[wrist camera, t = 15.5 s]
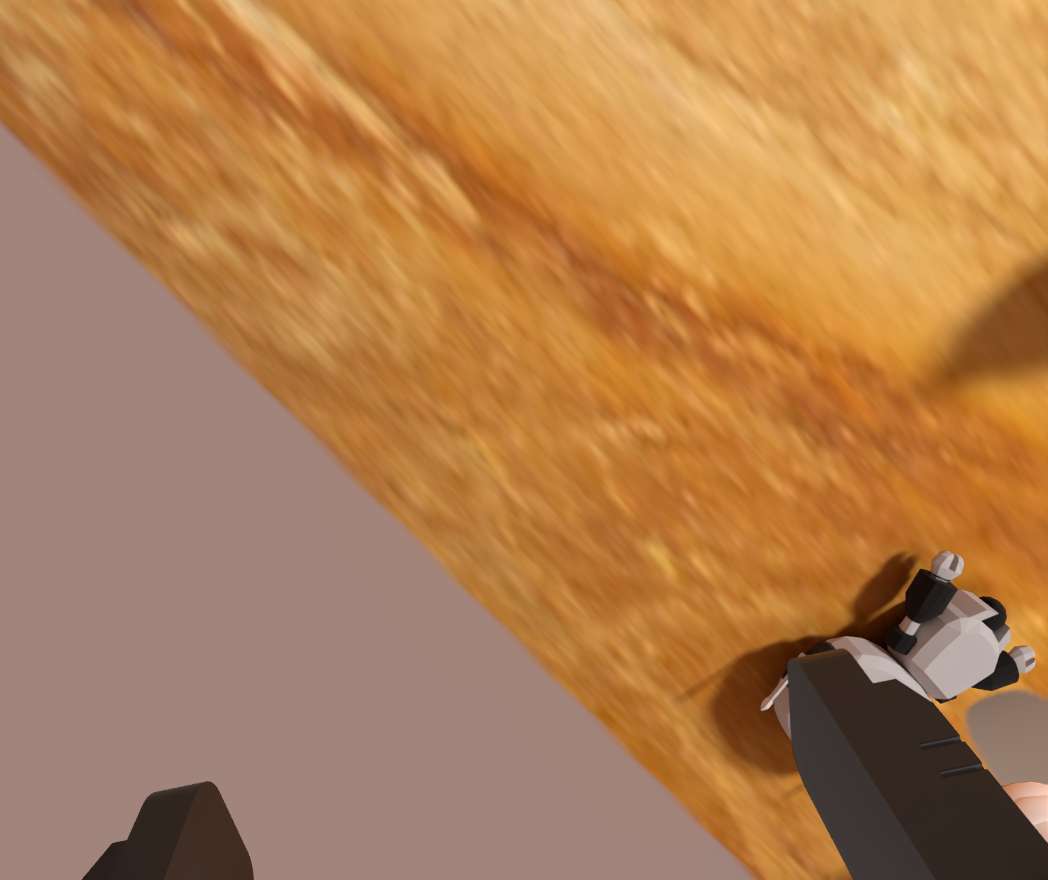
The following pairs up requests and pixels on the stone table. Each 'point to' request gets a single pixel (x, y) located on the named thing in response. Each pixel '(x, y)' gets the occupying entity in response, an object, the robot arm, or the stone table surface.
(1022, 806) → the bottle
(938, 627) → the robot toy
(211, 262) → the stone table surface
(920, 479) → the stone table surface
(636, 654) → the stone table surface
